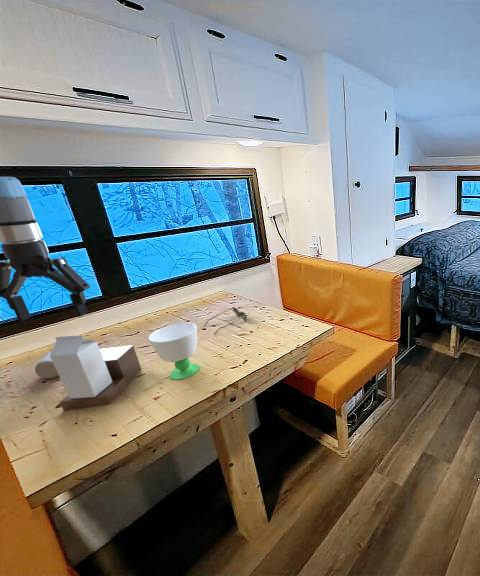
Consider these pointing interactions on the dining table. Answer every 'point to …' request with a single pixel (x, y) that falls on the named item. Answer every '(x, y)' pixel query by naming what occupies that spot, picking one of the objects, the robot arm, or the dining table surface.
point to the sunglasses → (236, 315)
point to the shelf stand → (122, 372)
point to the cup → (177, 347)
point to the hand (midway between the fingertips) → (54, 317)
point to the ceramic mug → (46, 368)
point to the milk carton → (80, 366)
